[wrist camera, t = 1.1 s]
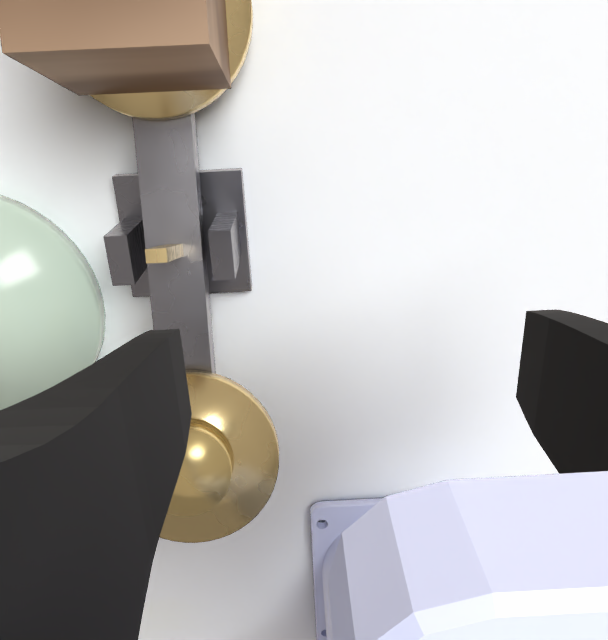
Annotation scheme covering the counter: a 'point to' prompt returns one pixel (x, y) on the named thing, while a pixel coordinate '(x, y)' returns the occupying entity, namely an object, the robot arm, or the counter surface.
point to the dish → (43, 305)
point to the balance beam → (196, 287)
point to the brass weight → (202, 471)
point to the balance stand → (219, 229)
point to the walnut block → (120, 43)
